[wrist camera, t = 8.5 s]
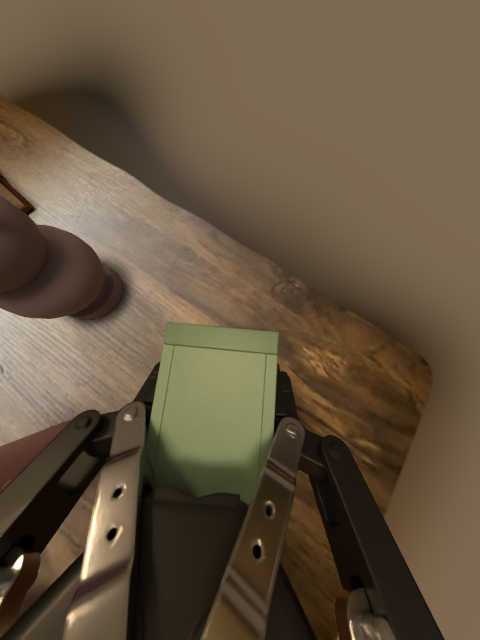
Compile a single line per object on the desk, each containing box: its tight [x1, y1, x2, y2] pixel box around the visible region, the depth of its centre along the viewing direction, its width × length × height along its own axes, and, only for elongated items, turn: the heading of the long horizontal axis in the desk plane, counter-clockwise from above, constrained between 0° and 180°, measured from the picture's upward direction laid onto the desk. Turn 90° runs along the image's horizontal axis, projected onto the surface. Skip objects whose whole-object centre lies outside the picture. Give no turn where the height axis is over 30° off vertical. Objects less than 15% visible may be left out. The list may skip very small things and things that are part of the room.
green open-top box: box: [146, 322, 279, 505], centre depth 13 cm, size 8×6×9 cm
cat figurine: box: [0, 196, 123, 320], centre depth 13 cm, size 8×8×12 cm
